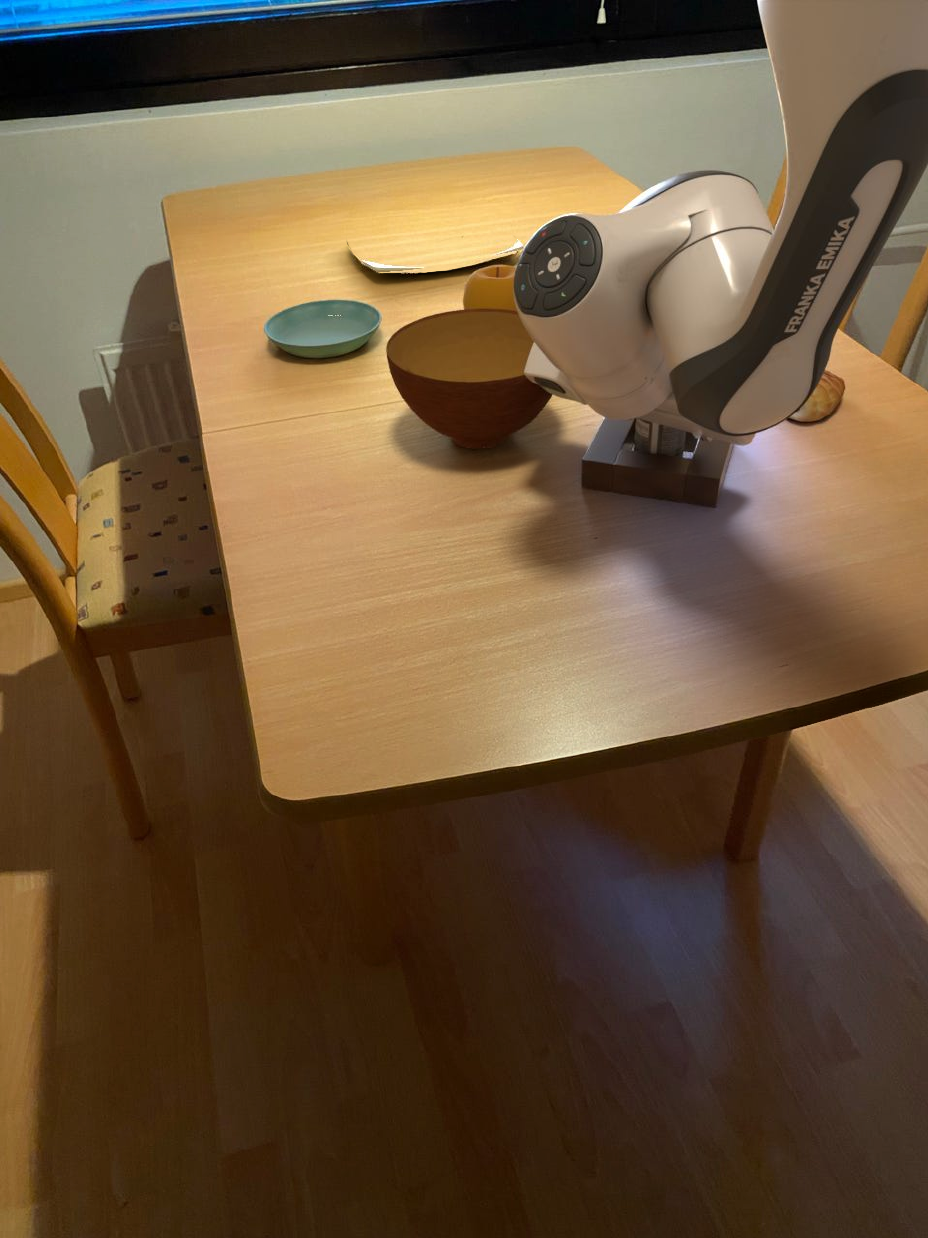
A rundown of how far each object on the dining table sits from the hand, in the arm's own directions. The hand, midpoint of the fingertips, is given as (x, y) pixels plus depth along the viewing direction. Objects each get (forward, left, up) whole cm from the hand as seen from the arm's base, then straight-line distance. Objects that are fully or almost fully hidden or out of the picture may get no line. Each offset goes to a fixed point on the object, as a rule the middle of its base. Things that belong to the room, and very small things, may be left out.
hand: (666, 422), depth 88 cm
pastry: (-12, -15, -4) cm, 20 cm away
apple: (+25, -24, -4) cm, 35 cm away
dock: (0, +1, -4) cm, 4 cm away
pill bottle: (0, +1, -4) cm, 5 cm away
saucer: (+46, -18, -4) cm, 50 cm away
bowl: (+19, 0, -4) cm, 20 cm away
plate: (+46, -53, -4) cm, 70 cm away
